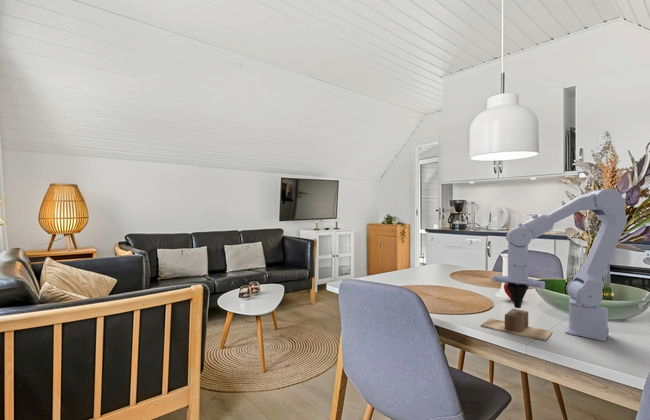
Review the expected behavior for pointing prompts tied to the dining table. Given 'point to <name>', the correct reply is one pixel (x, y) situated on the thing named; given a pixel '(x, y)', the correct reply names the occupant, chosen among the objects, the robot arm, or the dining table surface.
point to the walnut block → (516, 320)
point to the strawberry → (507, 291)
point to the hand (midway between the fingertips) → (517, 307)
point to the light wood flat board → (527, 332)
